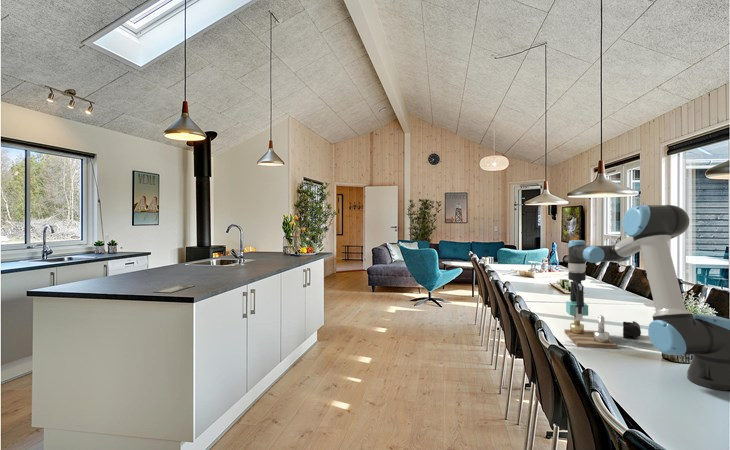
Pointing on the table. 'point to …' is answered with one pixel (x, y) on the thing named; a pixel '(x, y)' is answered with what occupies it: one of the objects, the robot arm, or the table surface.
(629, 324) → the end cap
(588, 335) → the board
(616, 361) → the table surface
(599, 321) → the stand rod
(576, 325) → the hub
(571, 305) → the collar
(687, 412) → the table surface
